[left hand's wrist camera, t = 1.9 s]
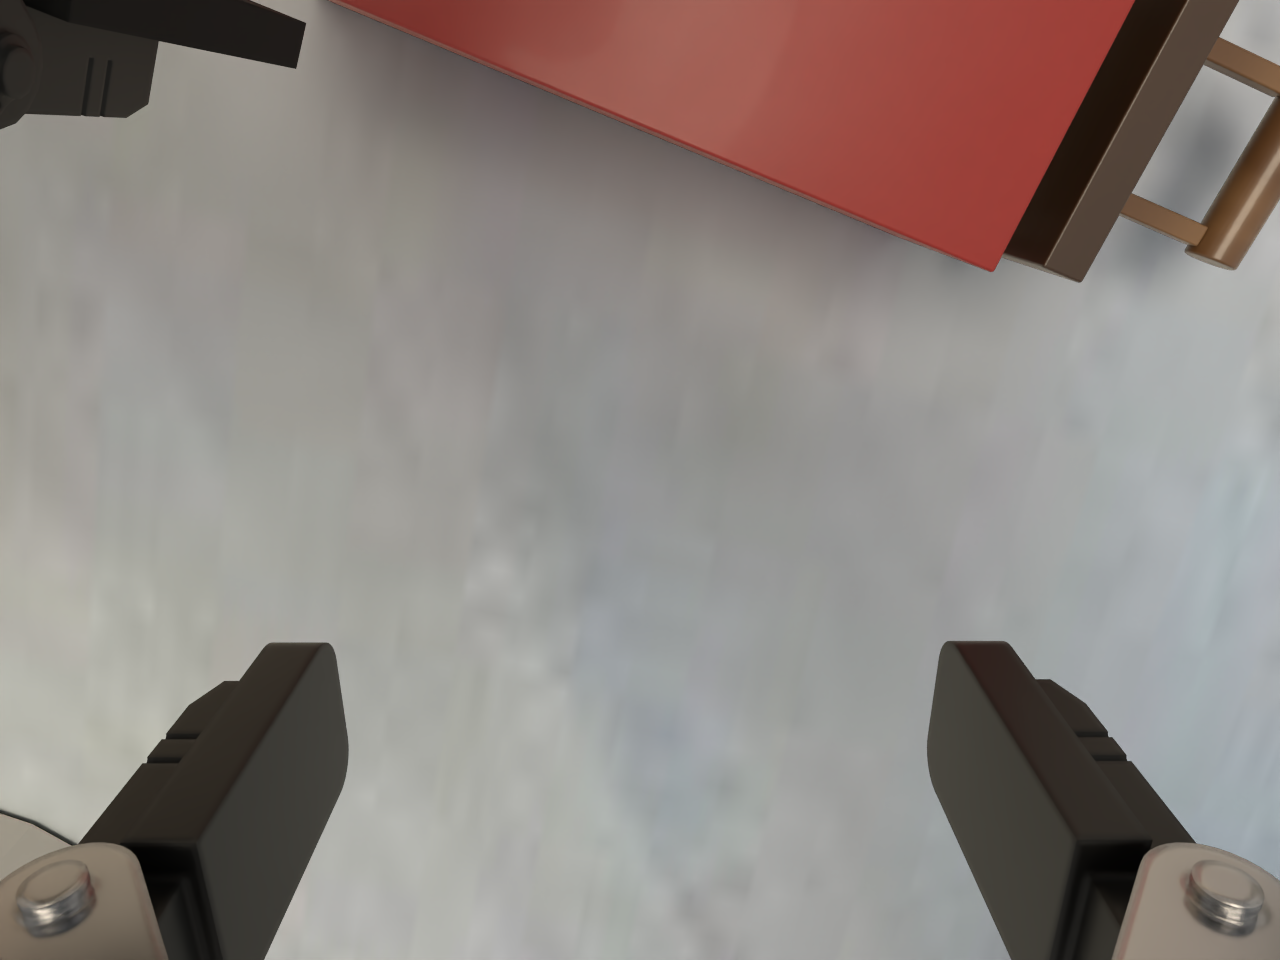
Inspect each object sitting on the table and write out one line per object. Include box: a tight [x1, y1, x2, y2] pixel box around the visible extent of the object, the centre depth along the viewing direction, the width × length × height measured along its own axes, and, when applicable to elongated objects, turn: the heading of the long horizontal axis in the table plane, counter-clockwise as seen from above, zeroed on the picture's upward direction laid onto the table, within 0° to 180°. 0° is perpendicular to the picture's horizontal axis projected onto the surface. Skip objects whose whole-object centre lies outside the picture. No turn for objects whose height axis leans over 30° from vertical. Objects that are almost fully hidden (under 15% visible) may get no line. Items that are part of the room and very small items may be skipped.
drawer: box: [1002, 0, 1280, 282], centre depth 24 cm, size 25×9×7 cm, turn 69°
